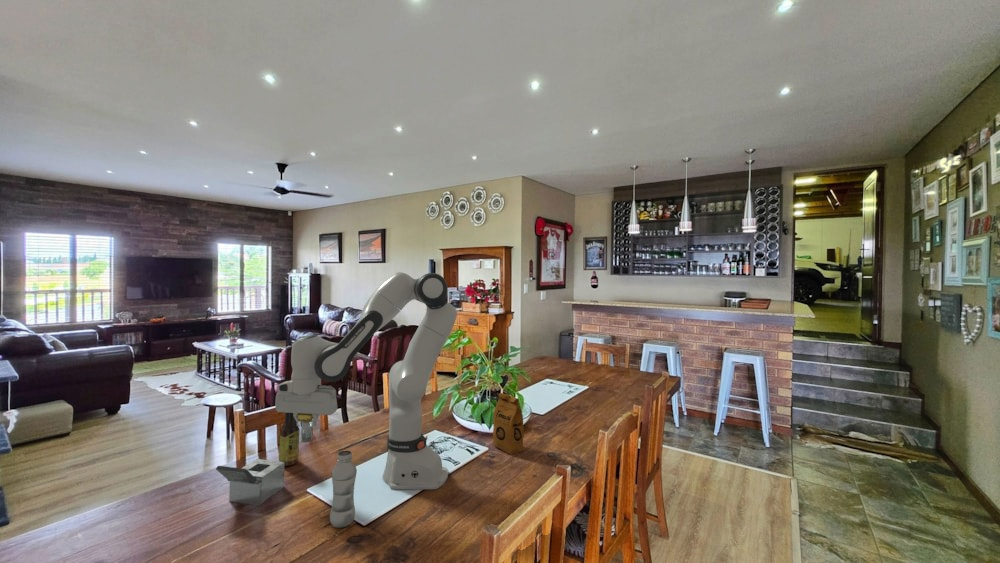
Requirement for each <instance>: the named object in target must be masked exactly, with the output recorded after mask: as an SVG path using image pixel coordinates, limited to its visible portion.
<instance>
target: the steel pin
mask: <svg viewBox="0 0 1000 563" xmlns="http://www.w3.org/2000/svg"><path fill="white" fill-rule="evenodd" d="M313 419H314V417H312V414H302V413H298V420H300V421H301V426H300V428H301V430H300V434H301V435H300V436H301V443H309V442H311V441H313V427H310V421H312V420H313Z"/></svg>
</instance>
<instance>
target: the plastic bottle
mask: <svg viewBox="0 0 1000 563" xmlns="http://www.w3.org/2000/svg"><path fill="white" fill-rule="evenodd" d="M352 455H353V454H352V451H351V450H342V451H339V452H338V453H337V458H336V461H337V463H336V464H335V466H333V469H332V471H331V482H332V503H331V509H330V512H329V522H330V524H331V526H332V527H334V528H337V529H339V528H341V529H342V528H346V527H348V526H350V525H351V524H352V523H353V522H354V520H355V516H356V508H355V507H356V506H355V497H354V494H355V493H354V492H355V484H356V478H357V477H356V476H357V473H358V472H357V467H356V465H355V463H353V461H352V460H353V456H352Z"/></svg>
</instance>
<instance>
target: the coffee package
mask: <svg viewBox="0 0 1000 563" xmlns="http://www.w3.org/2000/svg"><path fill="white" fill-rule="evenodd" d="M492 426H493V431H492V434H493V435H492V438H493V439H492V446H495V447H497V448H499V449H500V450H502V451H503V452H505V453H508V454H509V455H512V456H513V455H514V454H515V455H516V454H518V453H522V452H523V451H524V437H525V436H524V435H525V430H524V416H523V412H522V408H521V403H520V400H519V398H517V397H515V396H513V395H510V394H507V393H502V392H500V393H499V394H498V401H497V402H496V405H495V408H494V411H493V425H492Z"/></svg>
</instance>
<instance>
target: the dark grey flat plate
mask: <svg viewBox="0 0 1000 563" xmlns="http://www.w3.org/2000/svg"><path fill="white" fill-rule="evenodd" d="M242 468H243V467H240V468H239V467H232V466H231V467H230V466H224V465H217V466H216V468H215V470H216V471H217V472H218V473H219V474H220V475H222V476H223V477H224V478H225V479H226V480H227V481H228V482H230V481H232V482H240V483H248V484H258V483H259V480H257V479H256V478H255V477H254V476H253V475H252V474H251V473H250V472H249V471H248V470H247V469H242Z"/></svg>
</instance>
